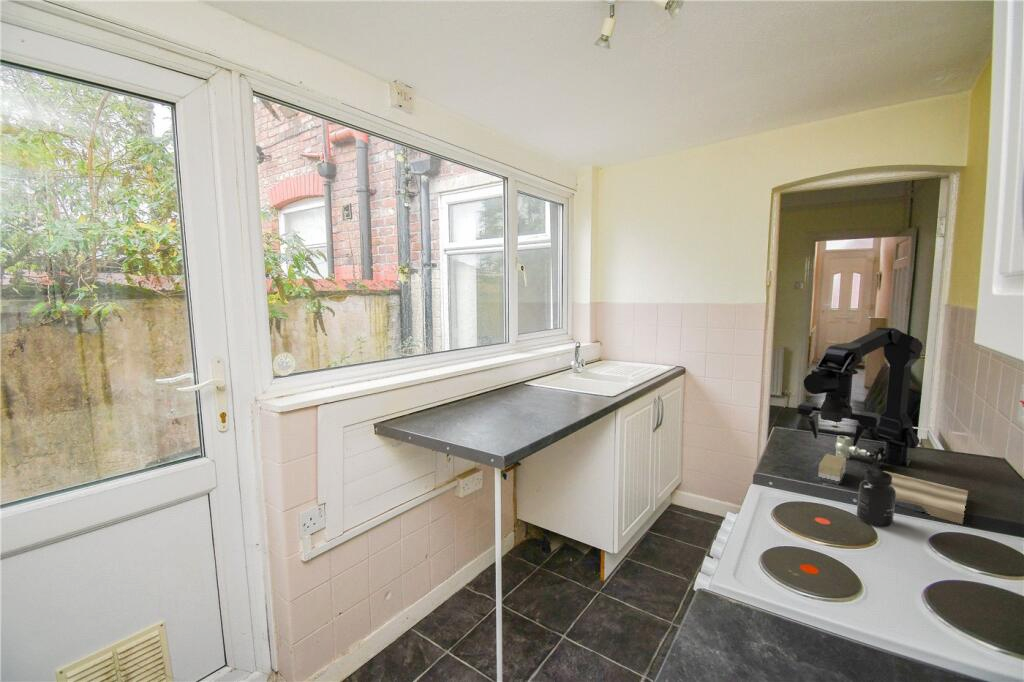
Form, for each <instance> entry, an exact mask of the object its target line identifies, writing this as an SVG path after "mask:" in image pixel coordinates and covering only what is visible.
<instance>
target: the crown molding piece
mask: <svg viewBox="0 0 1024 682" xmlns="http://www.w3.org/2000/svg"><path fill="white" fill-rule="evenodd" d="M882 472H885V473H888V474H890V475H891V476H892V484H891V486H892V487H893V488H894V489H895V491H896V498H895V499H898V500H902V501H906V502H909V503H912V504H916V505H919V506H922V508H924V509H925V511H927V513H928V514H930V515H929V516H932V517H934V518H939V519H942V520H945V521H950V522H954V523H957V524H959V525H963V523H964V519H963V518H964V517H965V513H964V511H966V508H965V506H967V502H966V501H968V496H969V494H968V493H969V490H965V489H962V488H957V487H952V486H950V485H944V484H940V483H936V482H932V481H928V480H924V479H919V478H916V477H910V476H906V475H902V474H898V473H895V472H894V473H893V472H890V471H886V470H883V471H882Z"/></svg>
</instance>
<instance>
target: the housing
mask: <svg viewBox="0 0 1024 682" xmlns="http://www.w3.org/2000/svg"><path fill="white" fill-rule="evenodd" d="M846 465H847V459H846V458H844V457H839V456H836V455H833V454H828V453H825V455H824V456H823V458H822V460H821V461H820V463H819V464H818V476H819V477H822V478H827V479H831V480H835V481H840V480H841V478H842V476H843V474H844V473H845V474H846V467H847V466H846ZM845 474H844V475H845ZM818 476H817V477H818ZM843 477H844V476H843Z"/></svg>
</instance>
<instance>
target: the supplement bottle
mask: <svg viewBox="0 0 1024 682" xmlns="http://www.w3.org/2000/svg"><path fill="white" fill-rule="evenodd" d="M864 478H865V479H864V480H862V481H861V482H859V485H858V486H859V487H858V494H857V496H858V497H857V507H856V516H857V518H858V519H859V521H862V522H863V523H865V524H868V525H870V526H874V527H878V528H889V527H891V526H892V525H893V523H894V515H895V498H896V491H895V489H894V488H893V487H892V486H891V484H892V476H891V475H890V474H888V473H885V472H883V471H882V470H878V469H867V470H866V471H865V476H864Z"/></svg>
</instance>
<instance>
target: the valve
mask: <svg viewBox="0 0 1024 682" xmlns="http://www.w3.org/2000/svg"><path fill="white" fill-rule="evenodd" d="M851 443H852V439H851V437H849V436H847V435H837V437H836V442H835V445H834V446H835V447H834V448H835V456H839V457H844V458H846V460H847V459H850V455H853V456H858V455H860V456H864V457H867V456H868V457H869V458H870V459H871V462H872V466H873V467H876V468H880V467H882V465H881V464H884V463H885V462H884V461H883V457H885V453H884V450H885V448H884V447H882V446H876V449H878V450H876V449H874V451H870V452H869V451H868V450H865V449H864V448H863V449H860V448H859V446H858V445H856V446H855V447H853V445H851Z"/></svg>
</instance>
